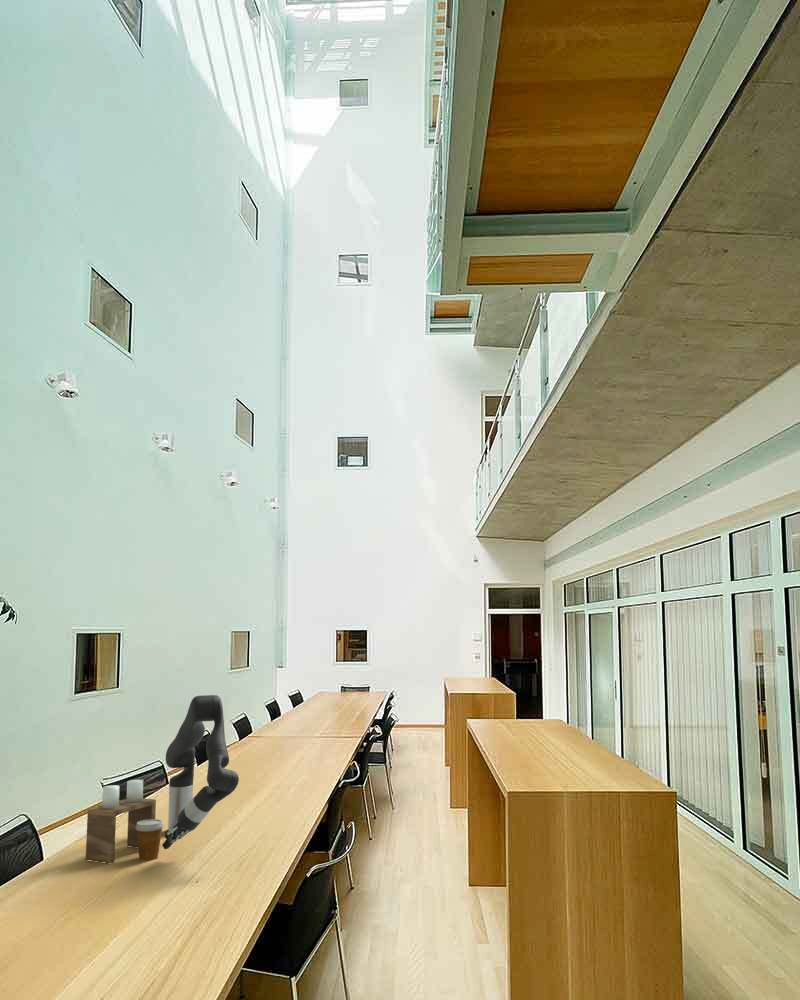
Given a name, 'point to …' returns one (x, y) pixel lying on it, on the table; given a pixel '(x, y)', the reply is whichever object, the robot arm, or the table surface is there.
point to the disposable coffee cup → (149, 838)
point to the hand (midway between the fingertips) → (164, 846)
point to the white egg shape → (134, 791)
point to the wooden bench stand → (114, 827)
